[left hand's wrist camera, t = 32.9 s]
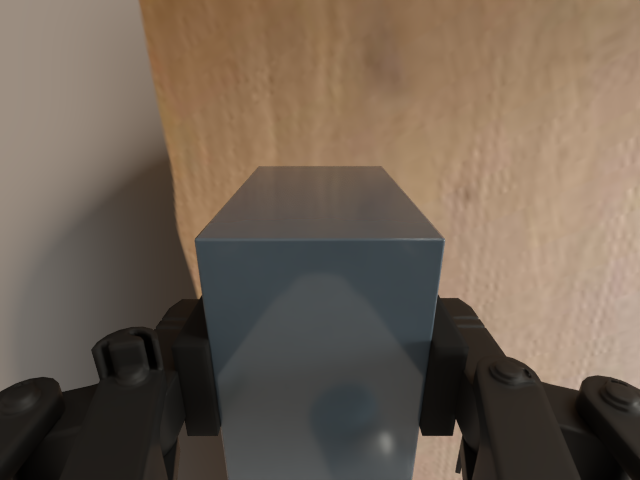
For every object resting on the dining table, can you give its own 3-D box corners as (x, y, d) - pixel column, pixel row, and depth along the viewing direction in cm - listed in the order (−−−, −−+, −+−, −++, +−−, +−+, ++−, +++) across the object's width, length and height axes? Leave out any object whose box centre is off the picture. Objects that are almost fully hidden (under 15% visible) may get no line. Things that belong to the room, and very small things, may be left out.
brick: (258, 166, 15) (193, 239, 7) (382, 166, 15) (446, 238, 7) (268, 323, 18) (229, 493, 10) (372, 323, 18) (411, 493, 10)
